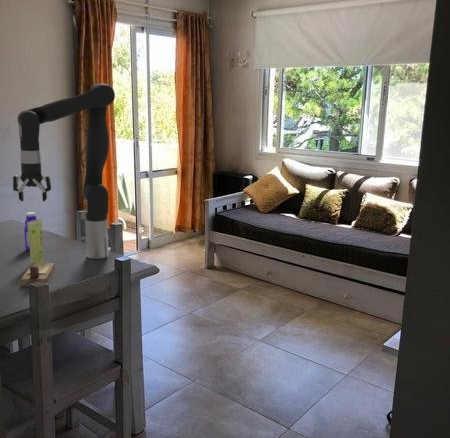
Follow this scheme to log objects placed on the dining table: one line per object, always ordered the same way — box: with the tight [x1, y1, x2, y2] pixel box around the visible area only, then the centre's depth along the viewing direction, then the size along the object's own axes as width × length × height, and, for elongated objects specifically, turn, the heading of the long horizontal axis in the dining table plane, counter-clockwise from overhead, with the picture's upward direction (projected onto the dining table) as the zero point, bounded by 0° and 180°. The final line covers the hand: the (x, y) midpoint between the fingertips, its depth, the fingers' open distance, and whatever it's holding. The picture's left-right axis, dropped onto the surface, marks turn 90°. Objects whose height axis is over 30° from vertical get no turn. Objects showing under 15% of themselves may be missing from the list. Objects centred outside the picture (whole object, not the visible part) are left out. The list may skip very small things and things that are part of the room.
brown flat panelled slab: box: [20, 262, 56, 286], centre depth 189 cm, size 9×18×7 cm, turn 9°
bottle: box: [23, 211, 38, 252], centre depth 222 cm, size 7×6×17 cm
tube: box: [27, 217, 44, 264], centre depth 202 cm, size 6×5×20 cm
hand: (33, 201), depth 198 cm, fingers open, 8 cm apart
